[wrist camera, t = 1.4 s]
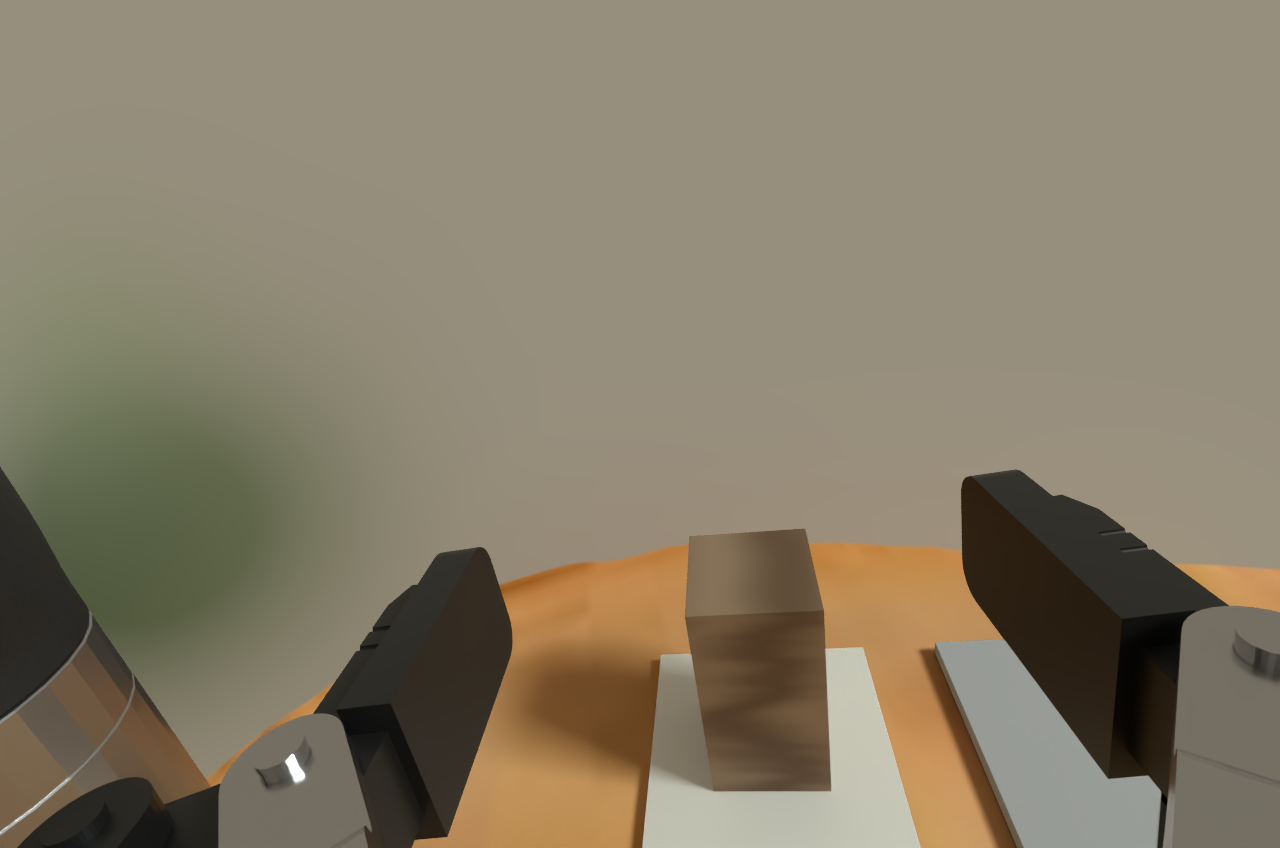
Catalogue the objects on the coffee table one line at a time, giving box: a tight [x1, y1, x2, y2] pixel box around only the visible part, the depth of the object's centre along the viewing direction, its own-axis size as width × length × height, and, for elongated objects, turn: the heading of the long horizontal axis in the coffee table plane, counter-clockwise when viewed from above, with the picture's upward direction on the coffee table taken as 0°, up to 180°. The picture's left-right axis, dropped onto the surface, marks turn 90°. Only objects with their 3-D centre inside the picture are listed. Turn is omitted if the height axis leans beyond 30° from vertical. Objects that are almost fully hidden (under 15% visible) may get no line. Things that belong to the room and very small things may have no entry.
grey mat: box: [935, 640, 1161, 848], centre depth 29 cm, size 12×12×1 cm
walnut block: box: [685, 529, 831, 791], centre depth 30 cm, size 6×6×11 cm
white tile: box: [642, 647, 921, 848], centre depth 32 cm, size 12×12×1 cm
